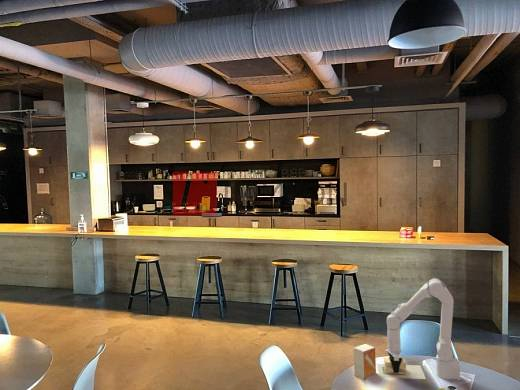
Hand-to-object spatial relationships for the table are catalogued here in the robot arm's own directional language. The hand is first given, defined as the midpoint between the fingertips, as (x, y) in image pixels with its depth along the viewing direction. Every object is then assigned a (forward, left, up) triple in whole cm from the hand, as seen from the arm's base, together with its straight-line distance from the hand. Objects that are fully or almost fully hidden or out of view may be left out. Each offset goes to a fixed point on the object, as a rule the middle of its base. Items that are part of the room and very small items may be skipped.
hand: (395, 369), depth 197 cm
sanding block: (0, 0, -1) cm, 1 cm away
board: (-2, 0, -2) cm, 3 cm away
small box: (+14, +3, -2) cm, 14 cm away
